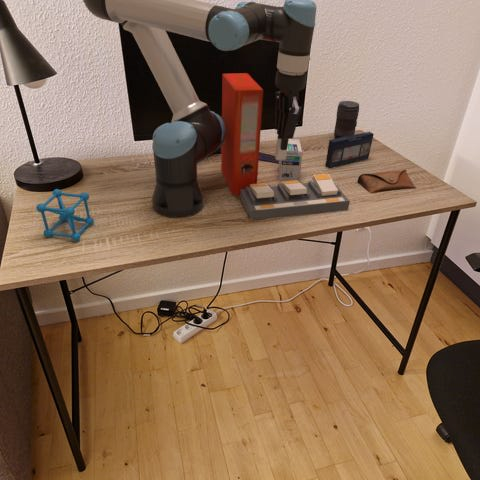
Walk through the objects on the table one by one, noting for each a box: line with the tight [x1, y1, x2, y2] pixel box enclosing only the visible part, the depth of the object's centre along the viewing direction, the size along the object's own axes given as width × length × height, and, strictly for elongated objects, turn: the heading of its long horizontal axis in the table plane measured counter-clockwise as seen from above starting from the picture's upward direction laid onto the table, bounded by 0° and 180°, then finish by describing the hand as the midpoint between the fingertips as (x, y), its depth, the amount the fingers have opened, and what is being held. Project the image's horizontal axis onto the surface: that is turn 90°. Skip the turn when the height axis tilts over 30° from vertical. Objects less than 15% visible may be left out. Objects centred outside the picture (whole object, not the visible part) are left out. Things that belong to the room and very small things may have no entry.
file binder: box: [220, 72, 264, 196], centre depth 132 cm, size 8×17×32 cm, turn 14°
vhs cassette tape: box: [324, 131, 374, 169], centre depth 153 cm, size 18×3×10 cm, turn 118°
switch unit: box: [239, 180, 351, 221], centre depth 130 cm, size 30×13×4 cm, turn 104°
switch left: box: [250, 182, 274, 198], centre depth 127 cm, size 5×8×2 cm, turn 14°
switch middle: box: [280, 180, 307, 195], centre depth 129 cm, size 5×8×2 cm, turn 14°
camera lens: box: [333, 100, 360, 139], centre depth 168 cm, size 8×8×15 cm
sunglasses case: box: [357, 169, 417, 194], centre depth 142 cm, size 18×7×7 cm
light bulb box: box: [278, 138, 304, 182], centre depth 144 cm, size 11×7×11 cm, turn 179°
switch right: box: [312, 173, 338, 196], centre depth 131 cm, size 5×8×2 cm, turn 14°
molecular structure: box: [35, 188, 95, 242], centre depth 113 cm, size 10×10×10 cm
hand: (280, 158), depth 120 cm, fingers closed
